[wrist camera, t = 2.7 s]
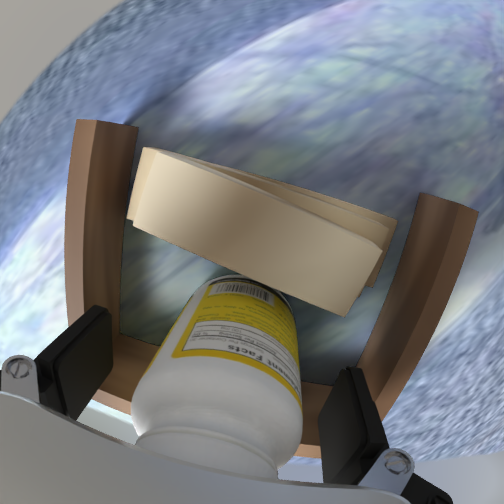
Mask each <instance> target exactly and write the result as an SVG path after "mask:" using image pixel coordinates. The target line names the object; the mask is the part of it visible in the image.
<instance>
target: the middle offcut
mask: <svg viewBox="0 0 504 504" xmlns="http://www.w3.org/2000/svg"><path fill="white" fill-rule="evenodd" d="M156 152H171V151H167V150H163V149H159V148H154V147H143V150H142V154H141V158H140V162H139V165H138V169H137V173H136V178H135V182H134V186H133V190H132V195H131V199H130V204H129V209H128V214H127V219H130V220H132V221H134V219H135V216H136V212H137V209H138V206H139V203H140V199H141V196H142V193H143V190H144V187H145V184H146V181H147V178H148V175H149V172H150V169H151V166H152V164H153V161H154V158H155V155H156ZM171 153H173V154H176V155H179V156H181V157H184V158H187V159H189V160H192V161H194V162H197V163H199V164H202V165H204V166H207V167H209V168H212V169H214V170H217V171H219V172H222V173H224V174H227V175H229V176H231V177H234V178H236V179H239V180H241V181H243V182H246V183H248V184H250V185H253V186H255V187H257V188H260V189H262V190H264V191H266V192H269V193H271V194H273V195H276V196H278V197H280V198H282V199H285V200H287V201H289V202H291V203H293V204H296V205H298V206H300V207H302V208H304V209H306V210H309V211H311V212H313V213H315V214H317V215H319V216H321V217H323V218H326V219H328V220H330V221H332V222H334V223H336V224H338V225H340V226H342V227H344V228H346V229H348V230H350V231H352V232H354V233H356V234H358V235H360V236H362V237H364V238H366V239H368V240H370V241H372V242H373V243H374V244H376V245H377V246H378V247H379V248H380V249H381V248H382V246H383V243H384V241H385V239H386V236H387V234H388V231H389V229H388V228H387V227H385V226H384V225H382V224H381V223H379V222H377V221H374V220H372V219H370V218H367V217H365V216H362V215H360V214H357V213H355V212H352V211H349V210H347V209H344V208H342V207H339V206H337V205H334V204H331V203H329V202H326V201H323V200H321V199H318V198H315V197H313V196H310V195H307V194H304V193H301V192H299V191H296V190H293V189H290V188H287V187H284V186H281V185H279V184H276V183H273V182H270V181H267V180H264V179H261V178H258V177H255V176H252V175H248V174H245V173H242V172H239V171H236V170H233V169H229V168H226V167H223V166H220V165H216V164H213V163H210V162H206V161H203V160H199V159H196V158H192V157H189V156H185V155H182V154H178V153H174V152H171ZM368 278H369V277H368ZM367 280H368V279H367ZM366 282H367V281H366ZM366 282H365V284H366ZM365 284H364V286H365ZM364 286H363V288H364ZM363 288H362V289H361V291H360V293H359V295H358V296H357V297H360V295H361V293H362V291H363Z"/></svg>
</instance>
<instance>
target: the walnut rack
mask: <svg viewBox="0 0 504 504" xmlns="http://www.w3.org/2000/svg"><path fill="white" fill-rule="evenodd" d="M138 128H139V127H134V126H129V125H123V124H117V123H112V122H106V121H99V120H84V119H77V120H76V126H75V131H74V137H73V144H72V150H71V158H70V165H69V174H68V184H67V196H66V211H65V242H64V258H65V289H66V304H67V316H68V326H71V325H72V324H73V323H74V322H75V321H76V320H77V319H78V318H79V317H81V316H82V315H83V314H84V313H85V312H86V311H87V310H89V309H90V308H91V307H92V306H93V305H99V306H102V307H104V308H107V309H108V311H109V313H111V315H112V344H113V368H112V371H111V372H110V374H109V375H108V376H107V378H106V379H105V381H104V382H103V383H102V385H101V386H100V387H99V389H98V390H97V392H96V393H95V394H94V396H93V397H92V399H93V400H95V401H97V402H99V403H102V404H104V405H106V406H109V407H111V408H113V409H116V410H118V411H121V412H123V413H126V414H129V415H131V402H132V397H133V394H134V392H135V389H136V388H137V386H138V383H139V381H140V379H141V378H142V376H143V374H144V373H145V371H146V369H147V368H148V366H149V364H150V363H151V361H152V359H153V358H154V356H155V354H156V353H157V351H158V349H159V348H160V347H159V346H156V345H152V344H149V343H146V342H143V341H140V340H137V339H134V338H131V337H129V336H126V335H123V334H120V279H121V260H122V245H123V233H124V223H125V213H126V204H127V196H128V188H129V181H130V174H131V168H132V161H133V155H134V150H135V144H136V139H137V133H138ZM478 213H479V212H478V211H476V210H473V209H471V208H469V207H467V206H464V205H462V204H459V203H456V202H453V201H449V200H446V199H443V198H439V197H435V196H432V195H428V194H425V193H421V192H420V195H419V198H418V202H417V206H416V210H415V213H414V217H413V220H412V224H411V227H410V230H409V234H408V237H407V240H406V243H405V246H404V249H403V252H402V255H401V258H400V261H399V264H398V267H397V270H396V273H395V275H394V278H393V281H392V284H391V286H390V289H389V292H388V294H387V297H386V299H385V302H384V304H383V307H382V309H381V312H380V314H379V317H378V319H377V321H376V324H375V326H374V328H373V331H372V333H371V335H370V337H369V340H368V342H367V344H366V346H365V349H364V351H363V353H362V355H361V357H360V359H359V361H358V363H357V365H356V367H357V368H361V369H362V370H363V373H364V376H365V379H366V382H367V385H368V388H369V391H370V394H371V397H372V400H373V401H374V402H375V404H376V406H377V410H378V413H379V416H380V419H381V422H382V420H383V419H384V418H385V416H386V415H387V413H388V412H389V410H390V409H391V407H392V406H393V404H394V402H395V401H396V399H397V398H398V396H399V395H400V393H401V391H402V390H403V388H404V386H405V385H406V383H407V381H408V380H409V378H410V376H411V375H412V373H413V371H414V369H415V368H416V366H417V364H418V362H419V360H420V358H421V357H422V355H423V353H424V351H425V349H426V347H427V345H428V343H429V341H430V339H431V337H432V335H433V333H434V331H435V329H436V327H437V325H438V323H439V321H440V318H441V316H442V314H443V312H444V310H445V307H446V305H447V303H448V300H449V298H450V295H451V293H452V291H453V288H454V286H455V283H456V281H457V278H458V275H459V273H460V270H461V267H462V264H463V262H464V259H465V256H466V253H467V250H468V247H469V244H470V241H471V237H472V234H473V231H474V227H475V224H476V220H477V217H478ZM300 382H301V396H302V412H303V425H302V438H301V442H300V444H299V447H298V449H297V451H296V452H295V454H294V455H293V456H301V457H310V458H321V449H320V439H319V430H318V416H319V413H320V411H321V409H322V407H323V405H324V404H325V402H326V400H327V398H328V396H329V394H330V392H331V390H332V388H333V386H329V385H322V384H315V383H309V382H303V381H300Z"/></svg>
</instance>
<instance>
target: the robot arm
mask: <svg viewBox="0 0 504 504" xmlns="http://www.w3.org/2000/svg"><path fill="white" fill-rule="evenodd" d="M112 368H113V344H112V315H111V313H109V311H108V309H107V308H104V307H102V306H99V305H93V306H92V307H91V308H90V309H89V310H87V311H86V312H85V313H84V314H83V315H82V316H81V317H79V318H78V319H77V320H76V321H75V322H74V323H73V324H72V325H71V326H69V327H68V328H67V329H66V330H65V331H64V332H63V333H62V334H61V335H59V336H58V337H57V338H56V339H55V340H54V341H53V342H52V343H51V344H50V345H49V346H47V347H46V348H45V349H44V350H43V351H42V352H41V353H40V354H39V355H38V356H37V357H36V358H35V359H34V360H32V359H31V358H29V357H27V356H24V355H15V356H12V357H9V358H8V359H7V360H5V362H4V363H3V365H2V370H0V504H453V501H452V499H451V497H450V496H449V495H448V494H447V493H446V492H444V491H442V490H441V489H439V488H438V487H436V486H434V485H433V484H431V483H429V482H427V481H426V480H424V479H423V478H421V477H420V476H418V475H416V474H415V473H413V472H414V468H415V464H414V461H413V458H412V457H411V456H410V455H409V454H408V453H407V452H406V451H404V450H401V449H398V448H389V444H388V441H387V438H386V435H385V431H384V428H383V425H382V422H381V419H380V416H379V413H378V410H377V406H376V404H375V402H374V401H373V400H372V397H371V394H370V391H369V388H368V385H367V382H366V379H365V376H364V373H363V370H362V369H361V368H357V367H350V366H348V367H346V369H342V370H341V371H340V373H339V376H338V378H337V380H336V382H335V384H334V386H333V388H332V390H331V392H330V394H329V396H328V398H327V400H326V402H325V404H324V405H323V407H322V409H321V411H320V413H319V416H318V430H319V439H320V449H321V460H322V470H323V482H324V483H312V482H300V481H289V480H280V479H272V478H265V477H258V476H251V475H245V474H240V473H234V472H229V471H224V470H220V469H215V468H210V467H206V466H202V465H198V464H194V463H190V462H186V461H183V460H179V459H176V458H172V457H169V456H165V455H162V454H159V453H156V452H153V451H150V450H147V449H144V448H141V447H138V446H135V445H133V444H130V443H127V442H124V441H122V440H119V439H117V438H114V437H112V436H109V435H107V434H104V433H102V432H100V431H98V430H95V429H93V428H91V427H89V426H86V425H84V424H82V423H80V422H78V421H76V420H77V419H78V417H79V416H80V414H81V413H82V411H83V410H84V408H85V407H86V406H87V404H88V403H89V401H90V400H91V399H92V397H93V396H94V394H95V393H96V392H97V390H98V389H99V387H100V386H101V385H102V383H103V382H104V381H105V379H106V378H107V376H108V375H109V374H110V372H111V371H112Z"/></svg>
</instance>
